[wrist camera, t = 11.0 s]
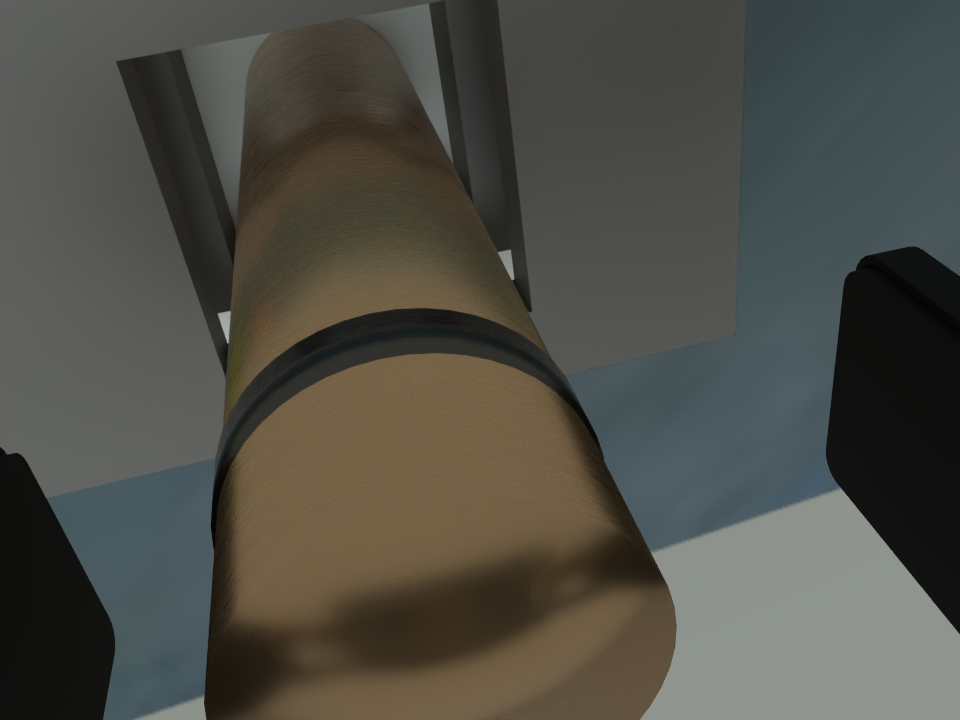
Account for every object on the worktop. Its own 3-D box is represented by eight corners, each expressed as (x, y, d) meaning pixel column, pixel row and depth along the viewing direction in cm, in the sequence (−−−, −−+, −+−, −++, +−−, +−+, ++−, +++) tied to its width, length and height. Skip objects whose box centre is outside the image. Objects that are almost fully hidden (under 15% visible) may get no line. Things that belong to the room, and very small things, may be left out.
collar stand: (641, -295, 21) (829, -334, 14) (654, 253, 28) (780, 393, 22) (-191, -169, 19) (-429, -146, 12) (67, 384, 26) (9, 583, 20)
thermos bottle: (394, -4, 22) (680, 439, 7) (422, 158, 24) (683, 763, 9) (223, 27, 21) (122, 571, 6) (267, 189, 24) (272, 875, 9)
